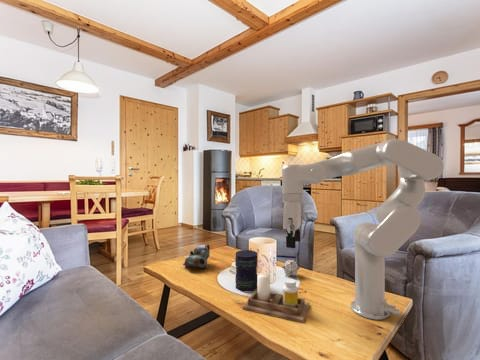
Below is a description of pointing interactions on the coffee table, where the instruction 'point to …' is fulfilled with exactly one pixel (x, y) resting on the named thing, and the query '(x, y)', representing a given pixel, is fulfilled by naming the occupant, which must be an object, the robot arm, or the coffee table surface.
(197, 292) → the coffee table surface
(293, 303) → the supplement bottle
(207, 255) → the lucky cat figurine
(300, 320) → the walnut caddy
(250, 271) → the storage jar
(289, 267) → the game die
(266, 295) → the pillar candle
